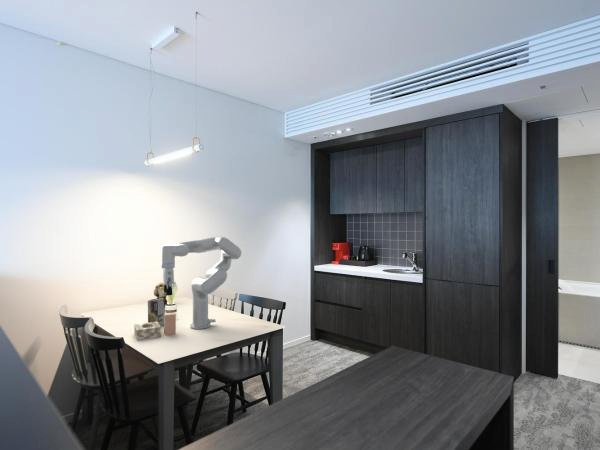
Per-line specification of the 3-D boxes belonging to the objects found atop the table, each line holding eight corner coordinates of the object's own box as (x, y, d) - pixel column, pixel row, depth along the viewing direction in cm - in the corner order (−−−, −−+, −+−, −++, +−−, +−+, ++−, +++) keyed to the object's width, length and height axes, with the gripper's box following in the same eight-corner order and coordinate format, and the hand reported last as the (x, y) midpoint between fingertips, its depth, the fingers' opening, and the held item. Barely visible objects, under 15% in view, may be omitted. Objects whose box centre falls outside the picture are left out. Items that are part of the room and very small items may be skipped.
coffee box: (165, 324, 239) (165, 299, 239) (157, 326, 233) (157, 301, 233) (155, 322, 243) (155, 298, 243) (147, 325, 237) (147, 300, 237)
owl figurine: (148, 302, 300) (148, 282, 300) (162, 300, 308) (162, 280, 308) (157, 306, 287) (157, 284, 287) (172, 304, 296) (172, 283, 296)
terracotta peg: (174, 332, 223) (174, 312, 222) (175, 334, 219) (175, 314, 219) (163, 333, 220) (163, 313, 219) (165, 335, 216) (165, 315, 216)
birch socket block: (157, 330, 226) (157, 321, 226) (160, 336, 214) (160, 327, 214) (134, 333, 219) (134, 324, 219) (136, 339, 208) (136, 330, 208)
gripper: (177, 266, 213) (177, 295, 213) (172, 263, 228) (172, 290, 229) (163, 267, 210) (163, 297, 210) (159, 264, 225) (159, 291, 225)
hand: (167, 293), depth 219 cm, fingers open, 9 cm apart
